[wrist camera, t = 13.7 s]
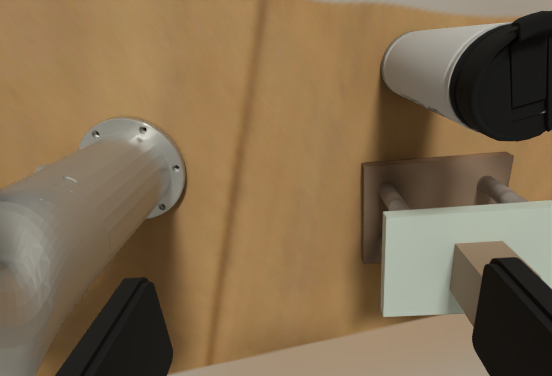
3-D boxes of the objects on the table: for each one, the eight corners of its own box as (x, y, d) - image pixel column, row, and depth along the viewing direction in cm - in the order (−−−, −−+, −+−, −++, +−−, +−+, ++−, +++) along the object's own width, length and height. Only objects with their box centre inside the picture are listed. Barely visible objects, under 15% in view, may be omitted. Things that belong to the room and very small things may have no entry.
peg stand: (361, 256, 45) (381, 315, 35) (361, 162, 40) (384, 201, 30) (489, 249, 43) (545, 308, 34) (505, 151, 38) (577, 188, 29)
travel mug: (437, 18, 34) (614, -12, 15) (446, 85, 36) (608, 129, 18) (374, 39, 35) (468, 36, 16) (386, 103, 37) (481, 162, 19)
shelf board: (380, 308, 35) (397, 360, 29) (382, 211, 30) (404, 250, 25) (546, 300, 33) (599, 353, 28) (573, 198, 29) (642, 236, 23)
